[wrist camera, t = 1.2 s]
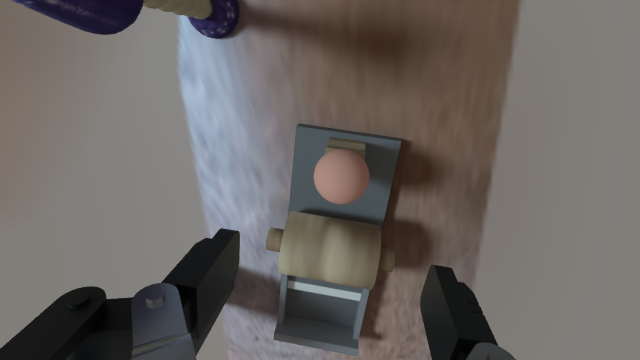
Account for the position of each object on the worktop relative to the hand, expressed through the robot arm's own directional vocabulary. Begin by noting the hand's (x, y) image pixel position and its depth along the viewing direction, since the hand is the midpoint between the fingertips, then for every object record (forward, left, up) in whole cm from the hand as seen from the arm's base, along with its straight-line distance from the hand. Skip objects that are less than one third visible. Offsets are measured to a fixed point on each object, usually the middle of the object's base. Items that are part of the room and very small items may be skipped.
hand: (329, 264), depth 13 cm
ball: (0, 0, -12) cm, 12 cm away
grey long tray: (+10, 0, -17) cm, 19 cm away
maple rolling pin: (+8, 0, -17) cm, 18 cm away
